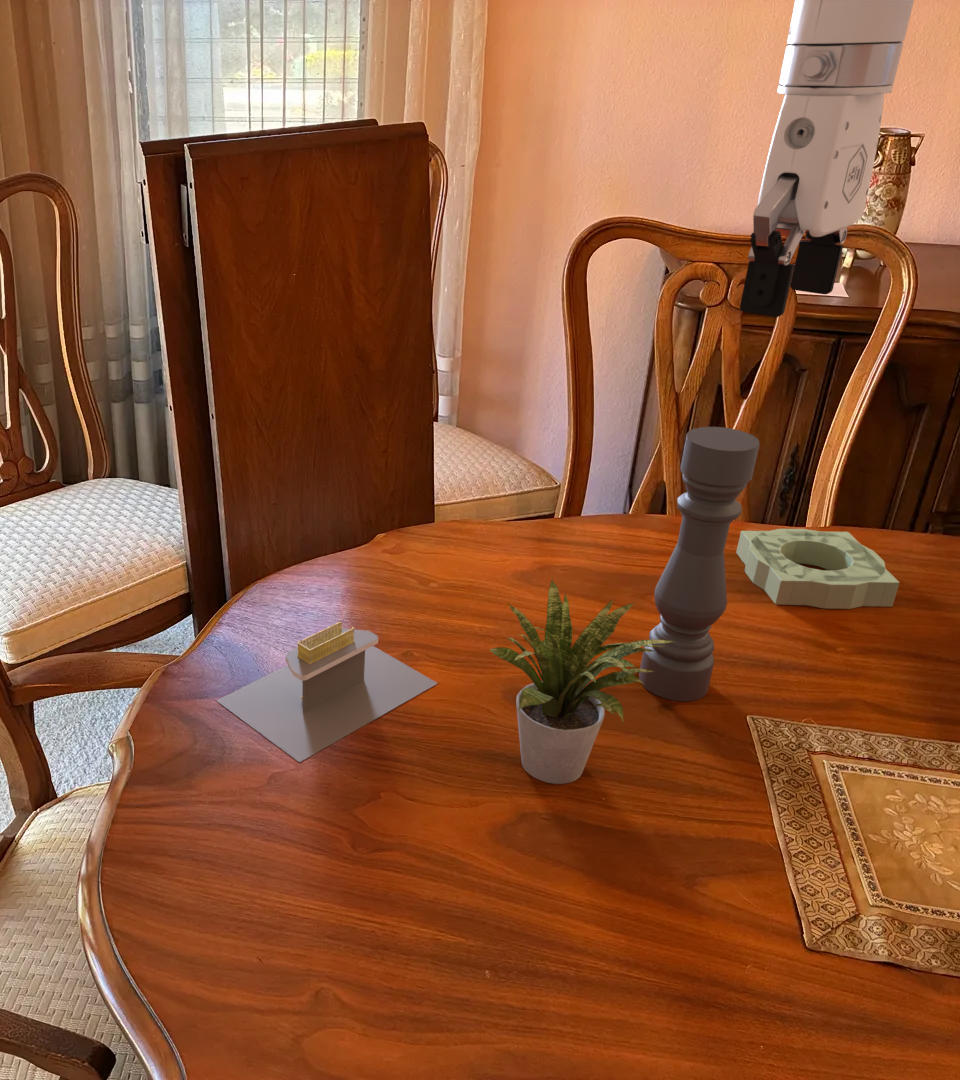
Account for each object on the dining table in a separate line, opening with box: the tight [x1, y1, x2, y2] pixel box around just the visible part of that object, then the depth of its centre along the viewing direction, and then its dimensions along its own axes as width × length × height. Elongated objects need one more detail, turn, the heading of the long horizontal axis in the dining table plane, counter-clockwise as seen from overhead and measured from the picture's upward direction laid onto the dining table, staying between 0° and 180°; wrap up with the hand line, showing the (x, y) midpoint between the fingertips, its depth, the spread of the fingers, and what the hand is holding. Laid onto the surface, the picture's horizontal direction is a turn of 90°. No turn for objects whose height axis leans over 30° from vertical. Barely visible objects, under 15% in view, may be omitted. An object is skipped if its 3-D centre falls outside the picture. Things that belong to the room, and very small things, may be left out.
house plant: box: [488, 578, 676, 785], centre depth 81 cm, size 14×14×16 cm
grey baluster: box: [638, 426, 761, 702], centre depth 90 cm, size 6×6×25 cm
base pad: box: [735, 528, 900, 610], centre depth 112 cm, size 13×13×3 cm
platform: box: [216, 621, 438, 763], centre depth 95 cm, size 12×18×7 cm, turn 129°
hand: (786, 302), depth 81 cm, fingers open, 9 cm apart
